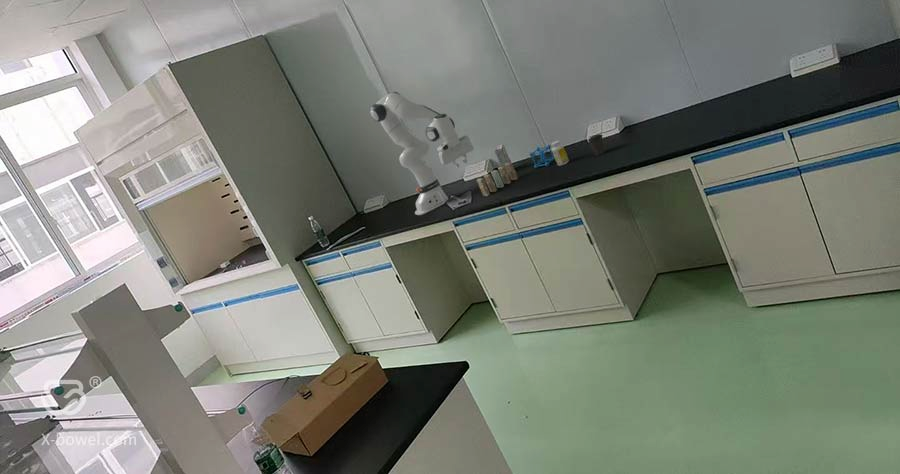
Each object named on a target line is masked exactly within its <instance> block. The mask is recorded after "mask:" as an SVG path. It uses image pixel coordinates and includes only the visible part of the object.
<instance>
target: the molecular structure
mask: <svg viewBox="0 0 900 474" xmlns="http://www.w3.org/2000/svg"><path fill="white" fill-rule="evenodd" d="M551 147H552V145H551V144H547V145H546V146H542V147H538V146H537V147H536V149H535V150H534V151H532V152H529V156H530V157H531V159H532V160H533V163H534V166H533V167H534V168H535V169H538V168H539V167H544V166H545V167H548V166H549V165H550V163H551V162H553V161H555V162H556V160H555V157H554V155H553V152H552V148H551ZM548 150H549V153H550V154H551V157H550V156H545V155H546V153H547V152H548ZM534 157H539V158H540V159H539V160H538V162H537V163H536V160H535V158H534Z"/></svg>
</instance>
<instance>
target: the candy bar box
mask: <svg viewBox="0 0 900 474" xmlns="http://www.w3.org/2000/svg"><path fill="white" fill-rule="evenodd" d="M494 153H495V155H496V157H497V160H498V163H499V164H500V166H502V167H505V169H506V166H505V164H506V163H512V161H511V159H510V156H509V155H508V151H507V150H506V147H505V145H504V143H502V144H500V145H497V146H496V147H495V150H494ZM506 171H507V169H506ZM507 173H508V171H507Z"/></svg>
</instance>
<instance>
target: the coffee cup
mask: <svg viewBox="0 0 900 474" xmlns="http://www.w3.org/2000/svg"><path fill="white" fill-rule="evenodd" d="M587 142H589V144H590V146H591V148H592V150H593V152H594V154H595V156H596V155H598V156H600V155H599V154H601V155H603V154H602V153H603V152H605V151H606V147H605V144H604V143H605V142H604V139H603V135H602V134H601V133H600V134H595V135H593V136H591V137H590V138H588V139H587ZM605 153H606V152H605Z"/></svg>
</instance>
